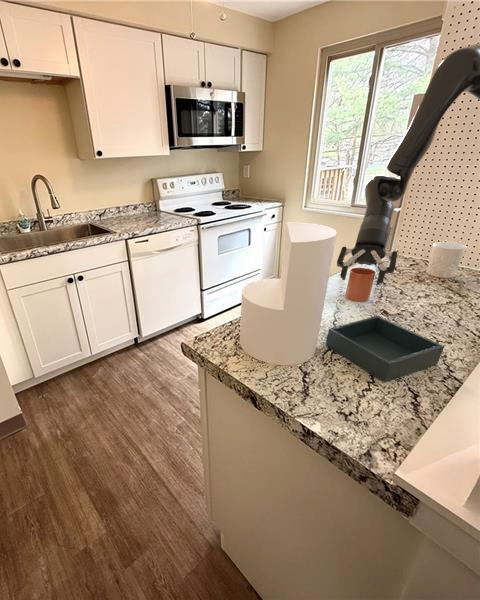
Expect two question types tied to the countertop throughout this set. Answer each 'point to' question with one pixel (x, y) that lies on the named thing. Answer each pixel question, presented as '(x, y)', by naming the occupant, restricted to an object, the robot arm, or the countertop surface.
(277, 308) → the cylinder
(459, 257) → the white cup
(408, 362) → the tub
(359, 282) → the tumbler
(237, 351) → the countertop surface
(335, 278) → the countertop surface
